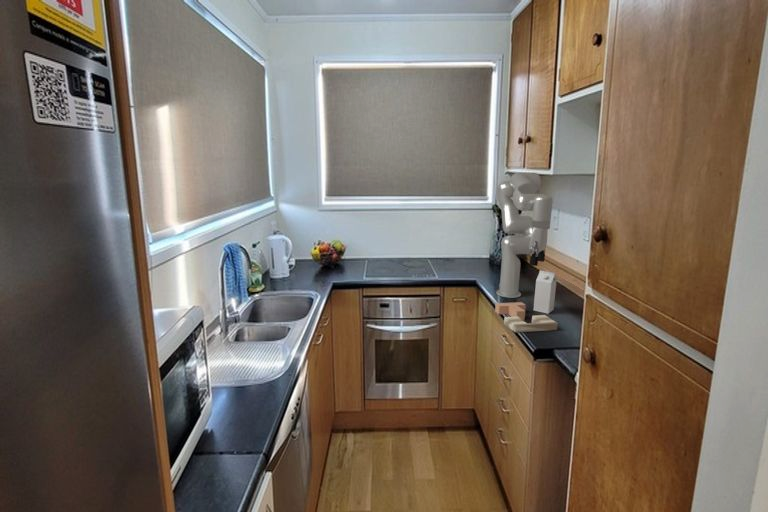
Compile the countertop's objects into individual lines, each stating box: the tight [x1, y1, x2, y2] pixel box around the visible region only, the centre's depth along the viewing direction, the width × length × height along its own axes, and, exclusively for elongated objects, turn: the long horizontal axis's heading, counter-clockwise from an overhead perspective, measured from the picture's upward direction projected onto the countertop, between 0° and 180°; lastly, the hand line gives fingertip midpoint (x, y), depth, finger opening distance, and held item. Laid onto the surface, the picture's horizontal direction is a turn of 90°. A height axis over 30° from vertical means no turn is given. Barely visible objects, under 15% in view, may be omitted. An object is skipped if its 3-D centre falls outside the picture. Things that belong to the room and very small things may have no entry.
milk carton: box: [533, 269, 558, 314], centre depth 204 cm, size 7×7×19 cm
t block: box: [494, 301, 527, 321], centre depth 199 cm, size 12×13×4 cm
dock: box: [503, 314, 559, 333], centre depth 185 cm, size 10×19×3 cm, turn 101°
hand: (537, 263), depth 192 cm, fingers open, 9 cm apart
